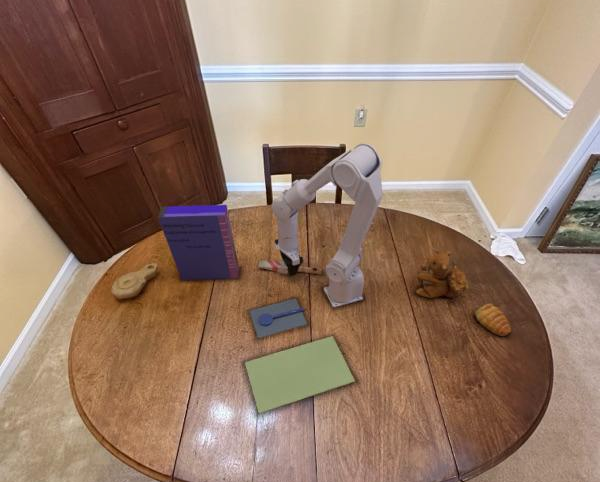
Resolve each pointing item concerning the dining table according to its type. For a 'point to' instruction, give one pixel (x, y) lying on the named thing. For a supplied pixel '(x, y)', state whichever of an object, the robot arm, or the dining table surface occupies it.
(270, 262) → the paintbrush
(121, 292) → the oil lamp
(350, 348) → the dining table surface
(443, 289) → the stuffed squirrel
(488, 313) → the pastry
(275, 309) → the spoon pad
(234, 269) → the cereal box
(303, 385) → the brush mat
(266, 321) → the spoon
